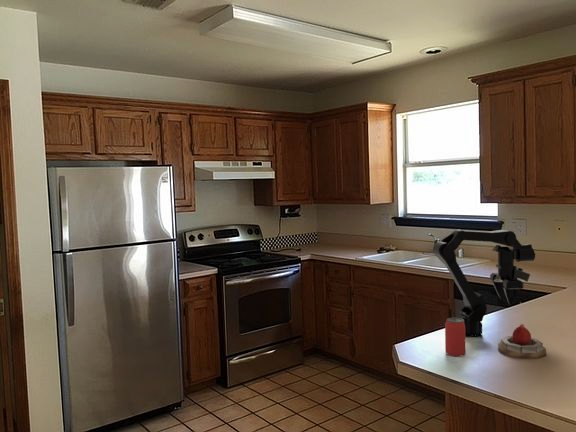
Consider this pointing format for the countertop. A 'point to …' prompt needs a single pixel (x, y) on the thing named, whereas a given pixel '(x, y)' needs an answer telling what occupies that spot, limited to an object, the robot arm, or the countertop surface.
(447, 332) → the beer can
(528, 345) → the ring board
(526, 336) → the onion
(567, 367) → the countertop surface
